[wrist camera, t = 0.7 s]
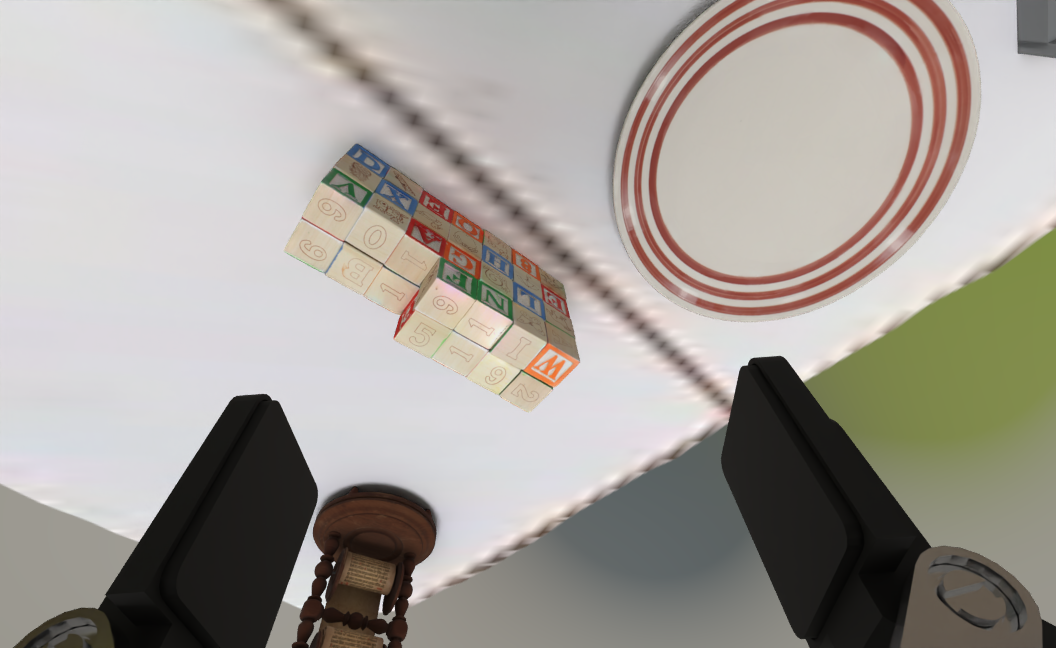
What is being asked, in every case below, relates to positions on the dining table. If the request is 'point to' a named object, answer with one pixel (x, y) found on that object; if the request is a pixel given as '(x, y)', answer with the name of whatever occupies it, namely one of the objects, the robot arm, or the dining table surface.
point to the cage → (1037, 27)
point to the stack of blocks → (439, 279)
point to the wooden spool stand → (365, 569)
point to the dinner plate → (793, 150)
